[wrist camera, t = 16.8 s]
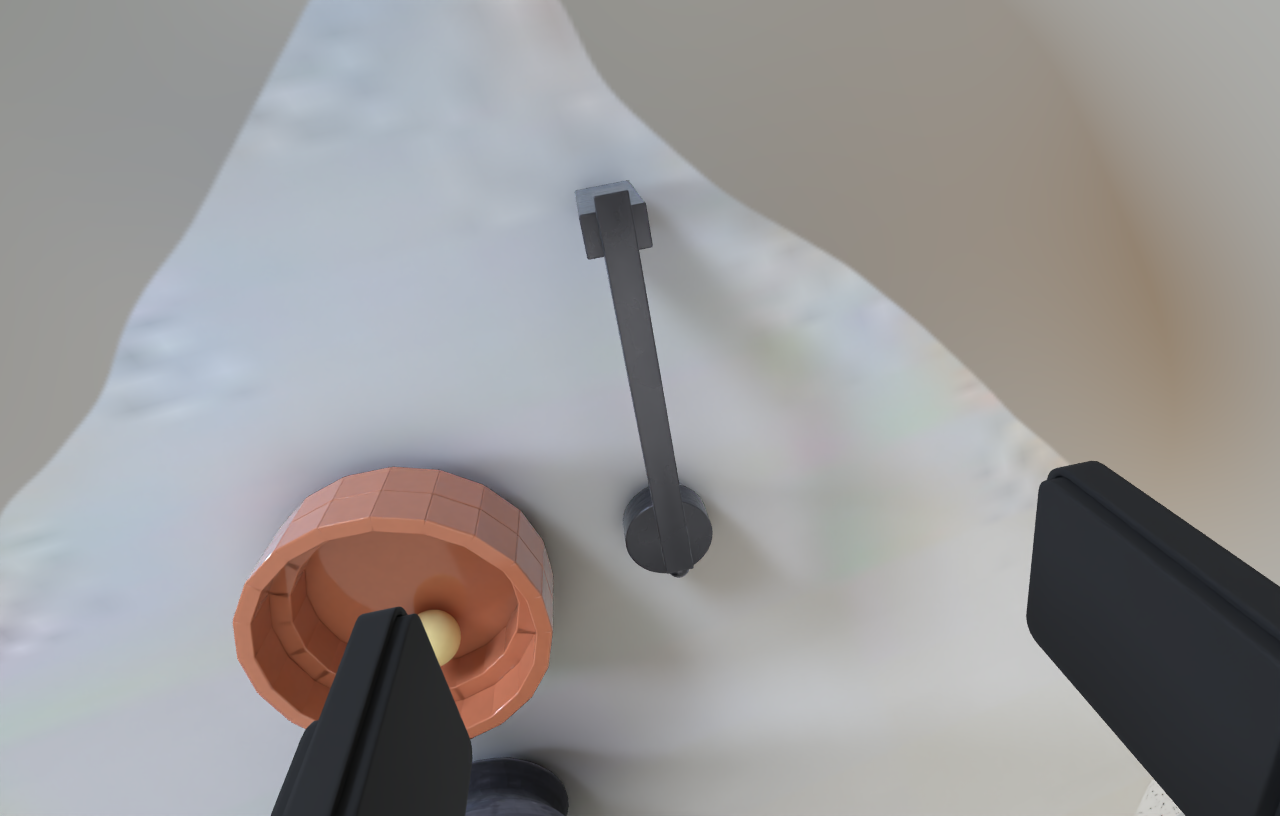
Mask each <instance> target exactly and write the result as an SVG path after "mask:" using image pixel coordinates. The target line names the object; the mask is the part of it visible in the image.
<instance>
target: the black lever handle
mask: <svg viewBox="0 0 1280 816" xmlns="http://www.w3.org/2000/svg"><path fill="white" fill-rule="evenodd" d="M575 196H576V202H577V208H578V214H579V220H580V225H581V230H582V234H583V239H584V244H585V249H586V254H587V258H588V259H589V260H590V259H595V258H600V257H604V258H605V264H606V269H607V274H608V279H609V284H610V289H611V294H612V299H613V304H614V310H615V315H616V320H617V325H618V330H619V335H620V340H621V345H622V350H623V356H624V361H625V366H626V371H627V376H628V381H629V386H630V391H631V396H632V402H633V407H634V412H635V417H636V422H637V427H638V432H639V437H640V442H641V448H642V453H643V458H644V463H645V468H646V473H647V478H648V483H649V487H648V488H646V489H644V490H642V491H641V492H639V493H638V494H637V495H636V496H635V497H634V498H633V499H632V500H631V501H630V502H629V504H628V505H627V507H626V509H625V512H624V516H623V528H624V535H625V541H626V547H627V551H628V553H629V555H630V556H631V558H632V559H633V560H634V561H635V562H636V563H637V564H638V565H639V566H641V567H643V568H644V569H647V570H649V571H652V572H657V573H667V574H669V573H670V574H671V575H672V576H674V577H677V578H680V577H683V576H685V575H686V574H687V573H688V571H689V569H693V565H694V564H695V563H697V562H698V561H699V560H700V559H701V558H702V557H703V556H704V555H705V553H706V552H707V550H708V549H709V546H710V544H711V540H712V526H711V523H710V520H709V517H708V514H707V511H706V508H705V506H704V503H703V501H702V500H701V498H700V497H699V496H698V495H697V494H696V493H695V492H694V491H692V490H691V489H689V488H687V487H685V486H682V485H679V480H678V474H677V468H676V462H675V456H674V451H673V445H672V439H671V433H670V427H669V422H668V416H667V410H666V404H665V398H664V393H663V387H662V381H661V375H660V369H659V364H658V358H657V352H656V346H655V340H654V335H653V329H652V323H651V317H650V311H649V306H648V300H647V294H646V288H645V282H644V277H643V271H642V265H641V259H640V253H639V250H640V249H645V248H650V247H652V246H653V244H652V238H651V232H650V226H649V220H648V214H647V208H646V203H645V202H644V200H643V199H642V198H641V196H640V195H639V194H638V192H637V191H636V190H635V188H634V187H633V186H632V184H631V183H630V182H629V181H628V180H627V181H622V182H616V183H611V184H606V185H601V186H596V187H591V188H586V189H581V190H576V191H575Z"/></svg>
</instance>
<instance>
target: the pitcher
mask: <svg viewBox="0 0 1280 816" xmlns="http://www.w3.org/2000/svg"><path fill="white" fill-rule="evenodd" d="M568 807H569V805H568V797H567V794H566V790H565V788H564V786H563V784H562V782H561V781H560V780H559V779H558V778H557V777H556V776H555V775H554V774H553V773H552V772H551V771H549V770H547V769H545V768H543V767H541V766H539V765H537V764H534V763H531V762H528V761H525V760H519V759H512V758H492V759H485V760H478V761H474V762H472V767H471V775H470V783H469V791H468V799H467V806H466V814H465V816H566V815H567V812H568Z"/></svg>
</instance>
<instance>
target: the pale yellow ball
mask: <svg viewBox="0 0 1280 816" xmlns="http://www.w3.org/2000/svg"><path fill="white" fill-rule="evenodd" d="M418 616H419V617H420V619H421V621H422V623H423V626H424V628H425V631H426V633H427V635H428V638H429V640H430V643H431V645H432V648H433V650H434V652H435V655H436V657H437V660H438V662H439V665H440V666H442V665H444V664H446V663H447V662H449V661H450V660H451V659H452V658H453V657H454V655H455V654H456V652H457V651H458V648H459V645H460V641H461V632H460V628H459V625H458V623H457V621H456V620H455V619H454V618H453V617H452V616H451V615H450V614H448V613H447V612H445V611H441V610H427V611H424V612H421V613H419V614H418Z"/></svg>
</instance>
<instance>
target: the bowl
mask: <svg viewBox="0 0 1280 816" xmlns="http://www.w3.org/2000/svg"><path fill="white" fill-rule="evenodd" d="M398 606H399V607H402V608H403V609H404V610H405V611H406V613H407V614H408V615H409V614H417V615H418V614H419V613H421V612H424V611H427V610H441V611H445V612H447V613H448V614H450V615H451V616H452V617H453V618H454V619H455V620H456V621H457V623H458V625H459V628H460V632H461V641H460V645H459V648H458V651H457V652H456V654H455V655H454V657H453V658H452V659H451V660H450V661H449V662H447V663H446V664H444V665H442V666H440V667H441V669H442V672H443V674H444V677H445V679H446V681H447V684H448V686H449V689H450V691H451V694H452V696H453V698H454V701H455V703H456V706H457V708H458V710H459V713H460V715H461V718H462V720H463V723H464V725H465V727H466V730H467V732H468V735H469V738H470V739H472V738H474V737H476V736H478V735H480V734H482V733H484V732H486V731H488V730H490V729H492V728H494V727H497V726H499V725H501V724H502V723H504V722H505V721H506V720H507V719H508V718H509V717H510V716H511V715H513V714H514V713H515V712H516V711H517V710H518V709H519V708H520V707H522V706H523V705H524V704H525V703H526V702H527V701H528V700H529V699H530V698H532V696H533V694H534V692H535V690H536V689H537V687H538V685H539V683H540V681H541V680H542V678H543V676H544V674H545V672H546V671H547V669H548V666H549V661H550V652H551V643H552V635H553V572H552V569H551V565H550V562H549V558H548V555H547V551H546V548H545V544H544V542H543V540H542V538H541V537H540V536H539V534H538V533H537V532H536V530H535V529H534V528H533V526H532V525H531V524H530V522H529V521H528V520H527V518H526V517H525V516H524V514H523V513H522V512H521V510H519V509H518V508H516V507H515V506H513V505H512V504H511V503H509V502H508V501H506V500H505V499H503V498H502V497H501V496H499V495H498V494H496V493H495V492H493V491H492V490H490V489H489V488H488V487H486V486H484V485H483V484H480V483H477V482H474V481H471V480H468V479H465V478H462V477H459V476H456V475H454V474H451V473H448V472H445V471H442V470H434V469H419V468H404V467H388V468H383V469H379V470H374V471H369V472H364V473H359V474H354V475H349V476H346V477H343V478H341V479H339V480H337V481H336V482H334V483H332V484H330V485H328V486H326V487H325V488H323V489H321V490H319V491H317V492H315V493H314V494H312V495H310V496H308V497H307V498H306V499H305V500H304V501H303V502H302V503H301V504H300V505H299V506H298V508H297V509H296V510H295V511H294V512H293V513H292V514H291V515H290V517H289V518H288V519H287V520H286V521H285V522H284V523H283V524H282V526H281V527H280V528H279V530H278V531H277V533H276V535H275V536H274V538H273V539H272V541H271V543H270V544H269V546H268V547H267V549H266V551H265V552H264V554H263V555H262V557H261V558H260V560H259V562H258V563H257V565H256V566H255V568H254V569H253V571H252V573H251V574H250V576H249V577H248V579H247V581H246V582H245V584H244V587H243V590H242V593H241V596H240V599H239V602H238V605H237V609H236V612H235V615H234V618H233V629H234V637H235V644H236V652H237V659H238V661H239V663H240V664H241V666H242V668H243V669H244V671H245V673H246V674H247V676H248V678H249V680H250V681H251V683H252V685H253V686H254V688H255V690H256V691H257V693H259V695H260V696H261V697H262V698H263V699H265V700H266V701H267V702H268V703H269V704H270V705H272V706H273V707H274V708H275V709H276V710H277V711H278V712H280V713H281V714H282V715H283V716H284V717H285V718H287V719H288V720H289V721H291V722H292V723H294V724H296V725H298V726H300V727H302V728H304V729H306V728H307V727H308V726H309V725H310V724H311V723H312V722H313V721H317V720H319V717H320V715H321V712H322V709H323V707H324V704H325V702H326V699H327V696H328V694H329V691H330V688H331V686H332V683H333V680H334V678H335V675H336V672H337V670H338V667H339V665H340V662H341V659H342V657H343V654H344V651H345V649H346V646H347V643H348V641H349V638H350V635H351V633H352V630H353V627H354V625H355V622H356V620H357V618H358V617H359V616H360V615H362V614H365V613H370V612H374V611H379V610H384V609H389V608H393V607H398Z"/></svg>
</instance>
